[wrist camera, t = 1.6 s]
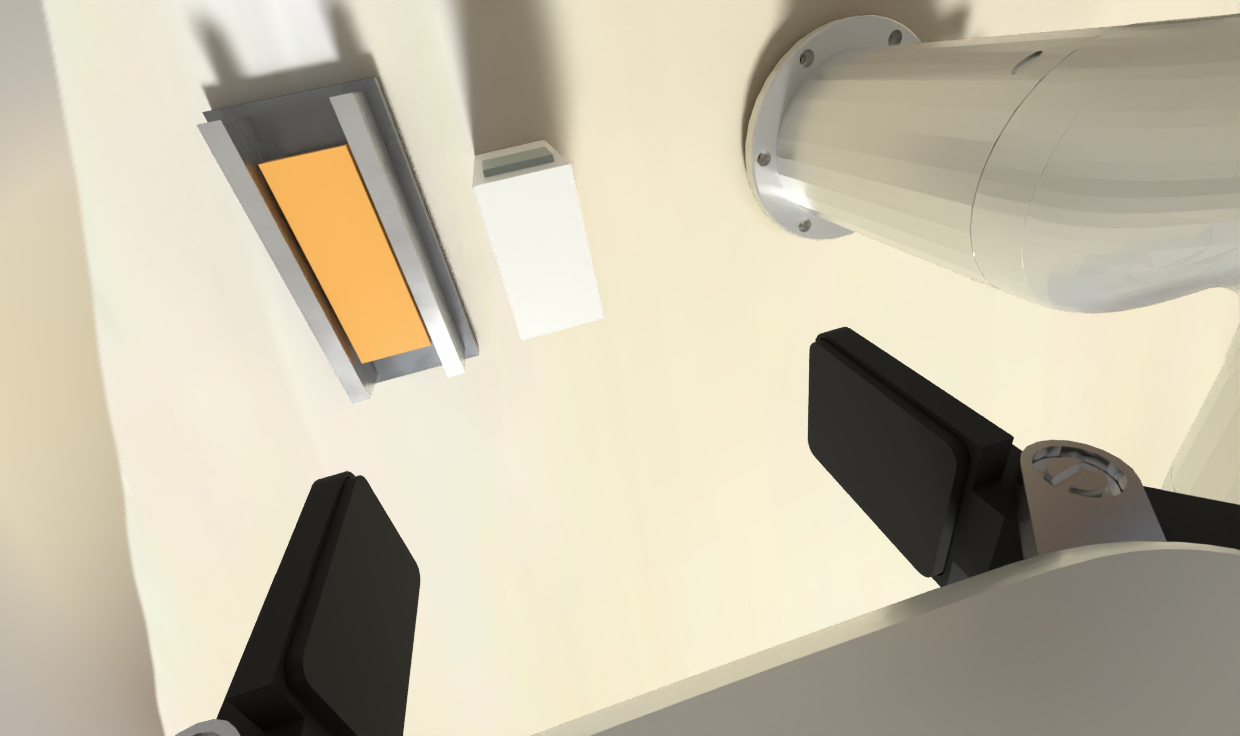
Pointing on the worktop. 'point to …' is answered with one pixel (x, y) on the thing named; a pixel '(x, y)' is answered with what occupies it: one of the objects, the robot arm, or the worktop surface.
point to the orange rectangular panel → (348, 250)
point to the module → (537, 237)
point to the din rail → (386, 170)
